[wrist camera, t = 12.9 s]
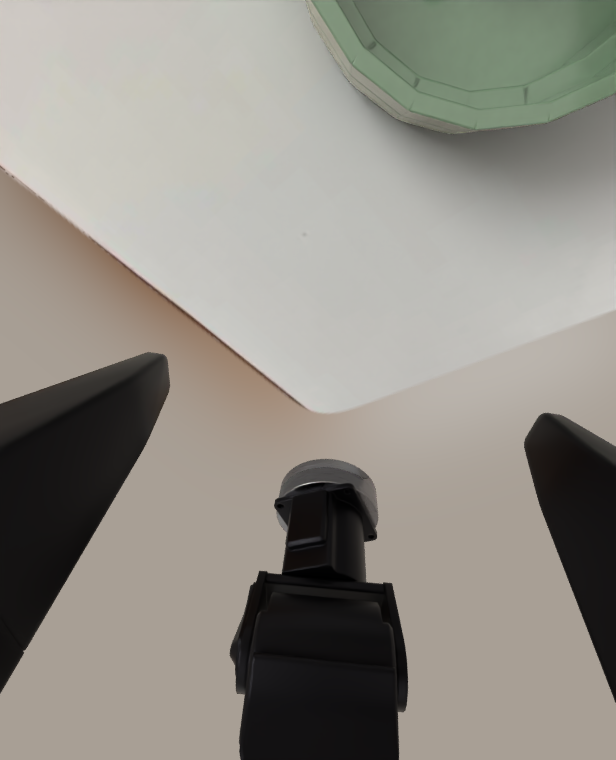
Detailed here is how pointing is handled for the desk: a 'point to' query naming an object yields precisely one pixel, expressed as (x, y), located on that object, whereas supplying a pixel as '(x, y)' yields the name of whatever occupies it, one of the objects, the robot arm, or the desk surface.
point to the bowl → (473, 58)
